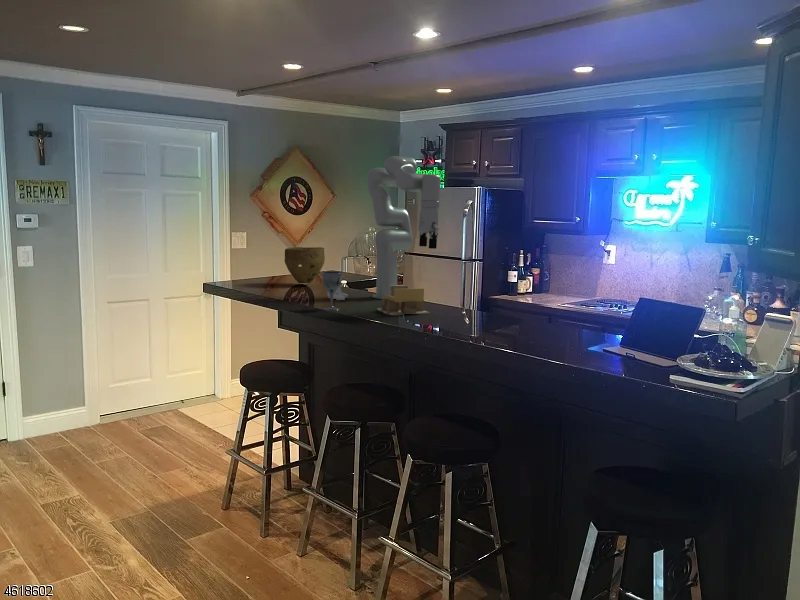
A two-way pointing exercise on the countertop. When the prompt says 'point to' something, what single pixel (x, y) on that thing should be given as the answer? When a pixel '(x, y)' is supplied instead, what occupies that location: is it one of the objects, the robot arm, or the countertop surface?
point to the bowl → (304, 262)
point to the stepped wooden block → (401, 305)
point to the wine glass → (331, 285)
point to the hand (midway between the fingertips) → (427, 247)
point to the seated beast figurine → (338, 295)
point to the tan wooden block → (407, 295)
